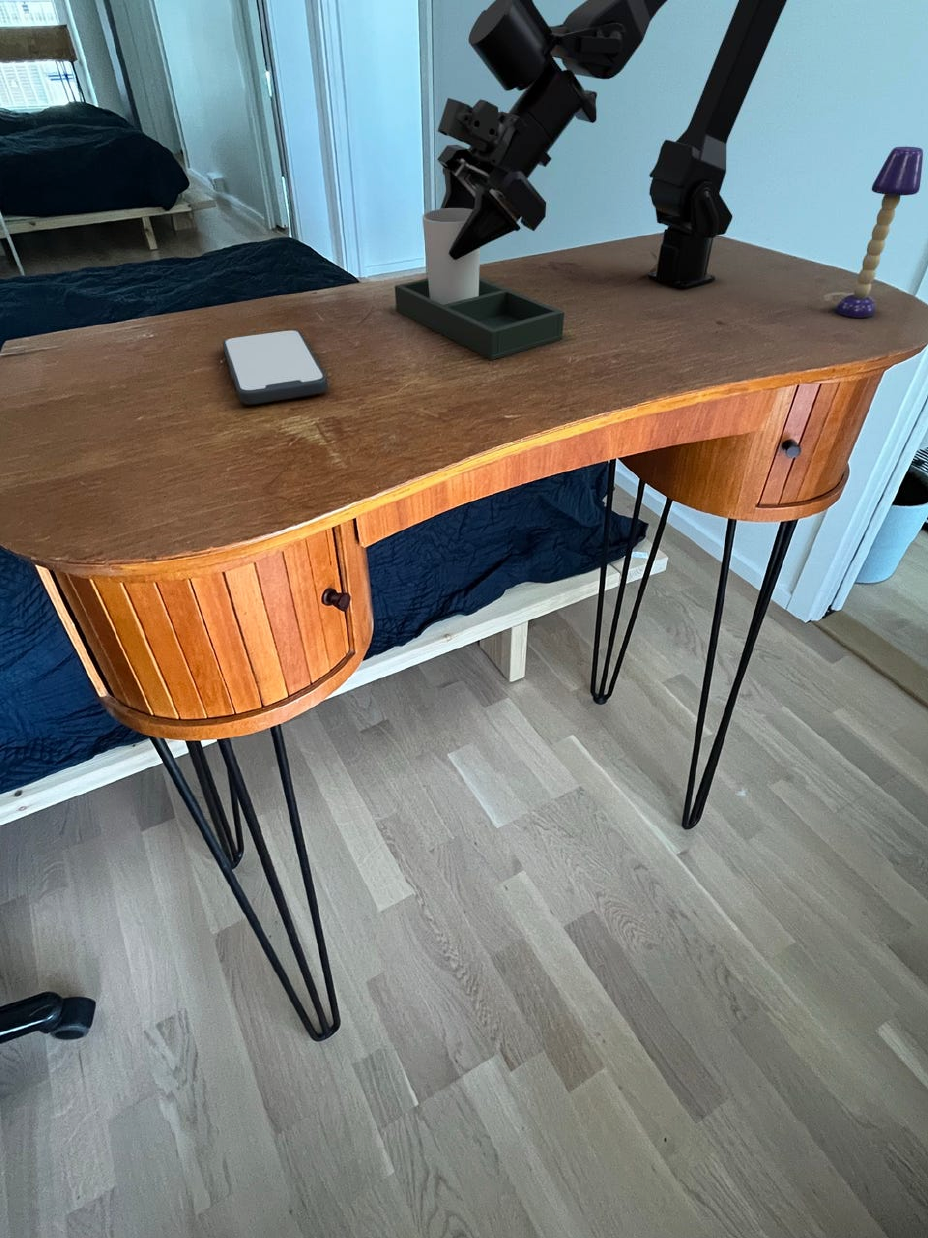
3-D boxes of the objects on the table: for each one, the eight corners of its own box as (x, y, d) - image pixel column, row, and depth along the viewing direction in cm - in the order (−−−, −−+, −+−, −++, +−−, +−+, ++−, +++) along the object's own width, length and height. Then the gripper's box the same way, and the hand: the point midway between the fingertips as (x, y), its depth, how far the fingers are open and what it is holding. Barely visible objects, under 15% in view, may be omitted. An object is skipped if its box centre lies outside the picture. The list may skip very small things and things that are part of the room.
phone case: (223, 353, 79) (241, 410, 67) (219, 338, 78) (237, 393, 66) (302, 341, 81) (332, 395, 70) (300, 327, 80) (330, 379, 69)
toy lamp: (824, 309, 87) (875, 146, 75) (849, 302, 88) (903, 142, 77) (858, 320, 83) (917, 153, 72) (883, 313, 85) (944, 148, 74)
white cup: (488, 300, 88) (488, 209, 81) (472, 318, 83) (471, 224, 76) (437, 296, 89) (433, 206, 83) (419, 314, 85) (413, 220, 78)
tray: (462, 294, 92) (462, 269, 90) (562, 339, 80) (564, 311, 78) (396, 310, 88) (394, 285, 86) (491, 360, 76) (491, 331, 74)
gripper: (451, 56, 78) (366, 181, 83) (524, 70, 65) (418, 217, 70) (514, 136, 86) (432, 247, 90) (590, 162, 73) (490, 290, 77)
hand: (441, 249), depth 82 cm, fingers closed on white cup, 6 cm apart
